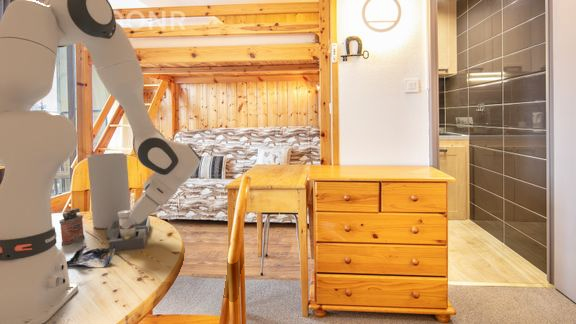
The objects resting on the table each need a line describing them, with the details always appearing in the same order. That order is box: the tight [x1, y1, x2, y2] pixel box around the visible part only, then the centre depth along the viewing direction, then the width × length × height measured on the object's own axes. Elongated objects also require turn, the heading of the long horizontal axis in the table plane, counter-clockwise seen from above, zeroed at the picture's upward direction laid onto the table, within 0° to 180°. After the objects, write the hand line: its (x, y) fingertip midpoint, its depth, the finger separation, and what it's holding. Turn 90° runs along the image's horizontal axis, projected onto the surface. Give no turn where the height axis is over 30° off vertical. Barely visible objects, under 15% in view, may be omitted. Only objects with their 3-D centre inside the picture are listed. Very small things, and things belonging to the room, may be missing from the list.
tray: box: [106, 216, 151, 240], centre depth 128 cm, size 12×12×3 cm
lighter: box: [59, 207, 85, 247], centre depth 119 cm, size 8×3×10 cm, turn 169°
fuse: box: [118, 209, 136, 238], centre depth 115 cm, size 5×5×10 cm
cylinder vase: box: [86, 152, 132, 230], centre depth 137 cm, size 12×12×25 cm
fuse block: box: [109, 229, 147, 252], centre depth 115 cm, size 10×9×4 cm
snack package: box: [66, 245, 116, 268], centre depth 101 cm, size 12×6×12 cm
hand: (125, 225), depth 114 cm, fingers closed on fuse, 4 cm apart
